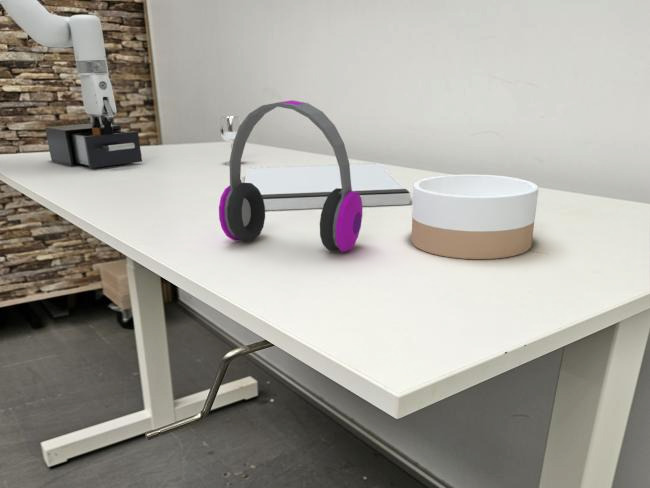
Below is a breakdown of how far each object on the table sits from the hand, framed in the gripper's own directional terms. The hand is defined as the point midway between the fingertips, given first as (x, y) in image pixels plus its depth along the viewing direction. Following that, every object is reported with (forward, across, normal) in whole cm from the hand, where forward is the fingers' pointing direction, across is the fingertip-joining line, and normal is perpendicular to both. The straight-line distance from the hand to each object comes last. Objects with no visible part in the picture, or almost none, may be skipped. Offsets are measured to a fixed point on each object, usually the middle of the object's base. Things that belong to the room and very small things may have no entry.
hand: (104, 142), depth 162 cm
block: (0, 0, 0) cm, 0 cm away
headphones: (+6, -97, +16) cm, 99 cm away
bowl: (+6, -115, -3) cm, 115 cm away
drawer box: (+6, +13, 0) cm, 14 cm away
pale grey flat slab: (+6, -69, -15) cm, 71 cm away
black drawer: (+5, -1, 0) cm, 6 cm away
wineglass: (+6, -25, -24) cm, 35 cm away
